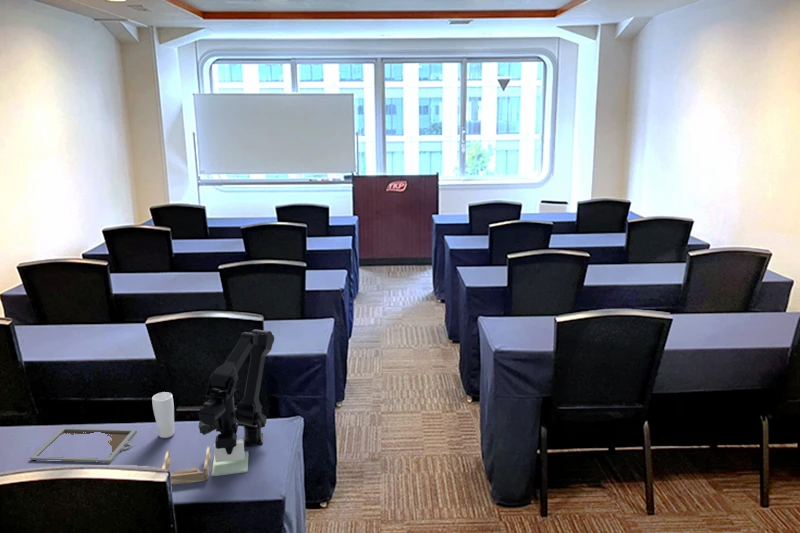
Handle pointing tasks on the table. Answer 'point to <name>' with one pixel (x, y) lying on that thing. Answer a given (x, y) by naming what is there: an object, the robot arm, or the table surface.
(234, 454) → the white block
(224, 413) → the robot arm
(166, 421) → the drinking glass
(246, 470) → the mat
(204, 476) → the rack
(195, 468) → the offcut stack
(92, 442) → the table surface
